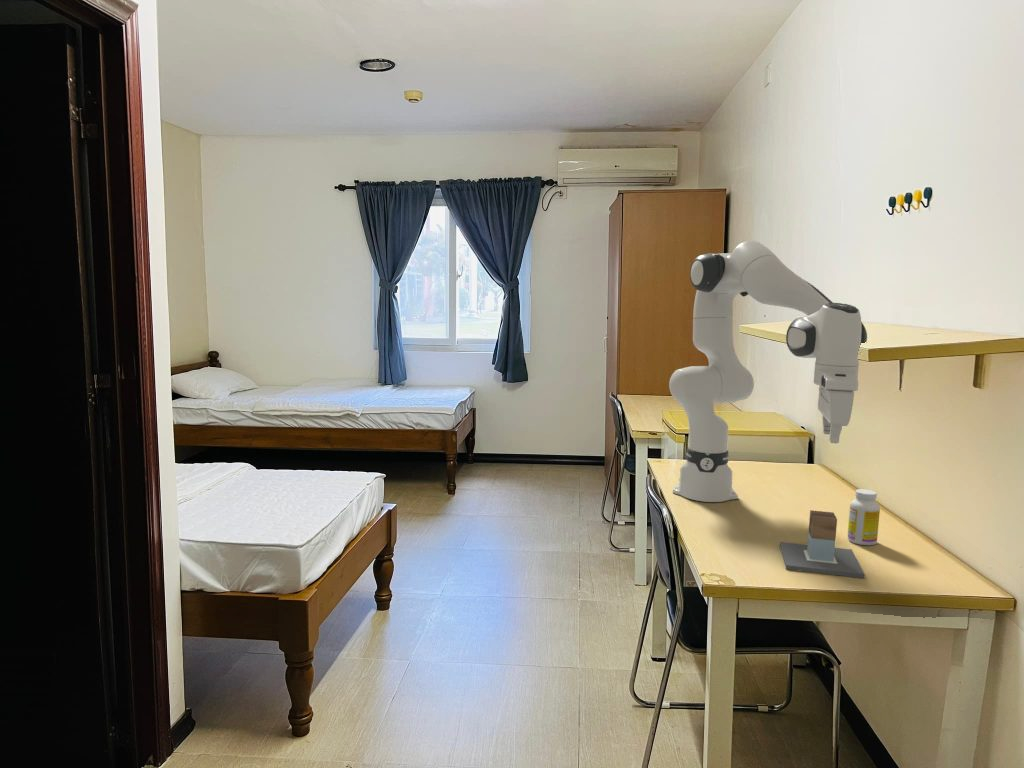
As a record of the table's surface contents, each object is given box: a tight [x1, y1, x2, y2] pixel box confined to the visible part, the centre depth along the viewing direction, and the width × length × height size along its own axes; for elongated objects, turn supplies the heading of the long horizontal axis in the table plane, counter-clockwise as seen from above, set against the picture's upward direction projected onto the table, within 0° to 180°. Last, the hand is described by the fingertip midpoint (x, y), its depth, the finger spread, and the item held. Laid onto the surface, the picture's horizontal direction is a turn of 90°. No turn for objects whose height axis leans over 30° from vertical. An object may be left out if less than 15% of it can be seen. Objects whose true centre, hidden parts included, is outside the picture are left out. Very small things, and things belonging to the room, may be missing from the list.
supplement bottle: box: [847, 488, 881, 547], centre depth 177 cm, size 7×7×13 cm
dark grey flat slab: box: [779, 541, 865, 579], centre depth 165 cm, size 15×16×1 cm
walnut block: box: [808, 509, 838, 542], centre depth 164 cm, size 5×5×5 cm
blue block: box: [806, 532, 836, 562], centre depth 165 cm, size 5×5×5 cm
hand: (830, 438), depth 161 cm, fingers open, 8 cm apart
